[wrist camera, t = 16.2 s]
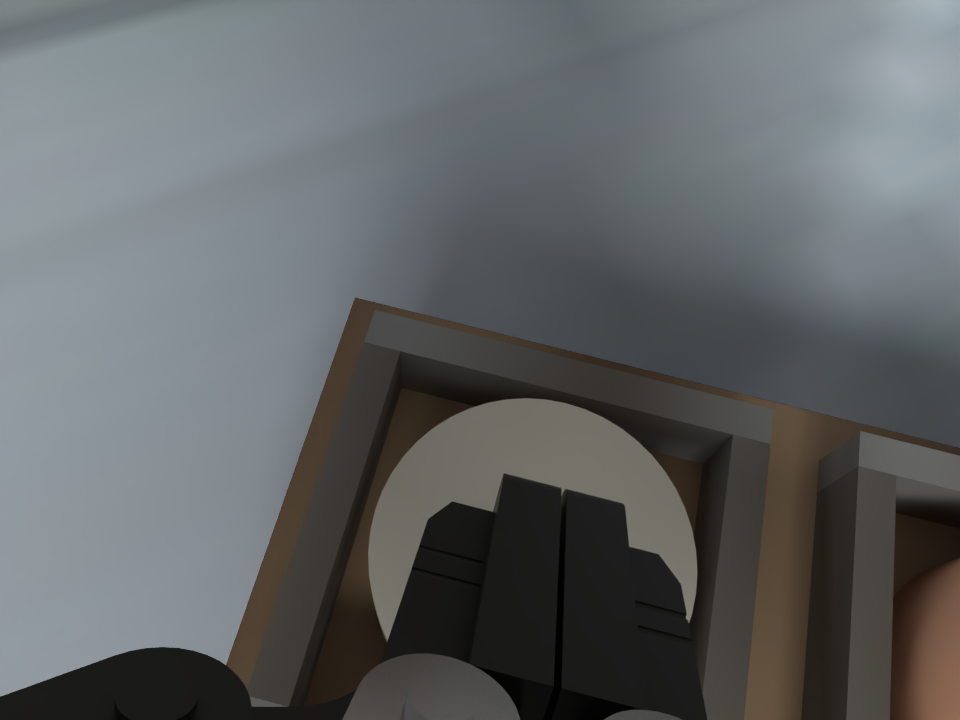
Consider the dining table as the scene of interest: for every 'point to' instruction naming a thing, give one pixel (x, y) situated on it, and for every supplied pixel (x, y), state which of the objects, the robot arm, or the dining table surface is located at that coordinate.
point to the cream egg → (531, 455)
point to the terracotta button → (927, 646)
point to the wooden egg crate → (691, 468)
